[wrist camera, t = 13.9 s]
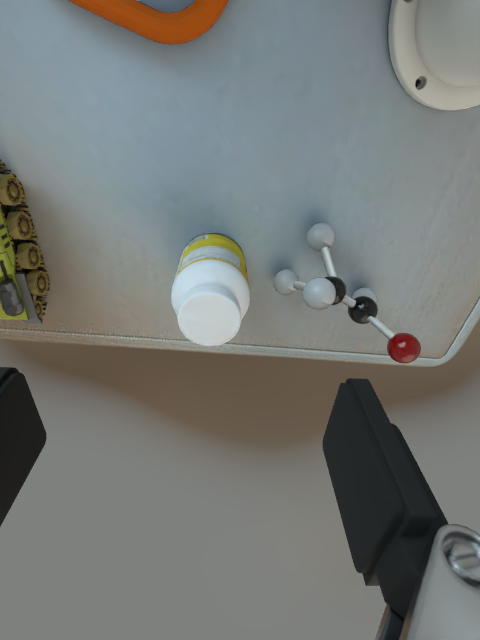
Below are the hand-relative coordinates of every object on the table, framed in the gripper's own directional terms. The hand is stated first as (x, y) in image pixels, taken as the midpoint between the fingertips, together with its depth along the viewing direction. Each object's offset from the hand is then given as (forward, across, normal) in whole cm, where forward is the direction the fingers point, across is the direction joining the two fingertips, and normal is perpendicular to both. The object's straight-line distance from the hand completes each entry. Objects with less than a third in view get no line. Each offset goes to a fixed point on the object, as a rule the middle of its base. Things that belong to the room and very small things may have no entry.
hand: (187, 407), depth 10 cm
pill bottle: (+25, 0, +6) cm, 26 cm away
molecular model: (+25, -13, +7) cm, 29 cm away
